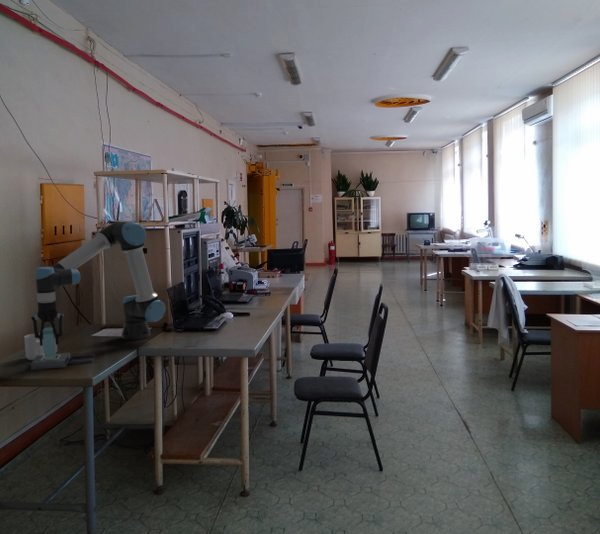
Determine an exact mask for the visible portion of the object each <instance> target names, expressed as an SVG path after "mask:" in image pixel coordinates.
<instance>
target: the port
mask: <svg viewBox="0 0 600 534" xmlns="http://www.w3.org/2000/svg"><path fill="white" fill-rule="evenodd" d="M69 361H71V352H59V353H56V358H55V359H46V360H45V355H38V356H37V357H36V358H35V359H34V360H31V362H30V370H31V371H35V370H36V371H37V370H50V369H59V368H60V369H61V368H66V367H67V365H68V364H69Z"/></svg>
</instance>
